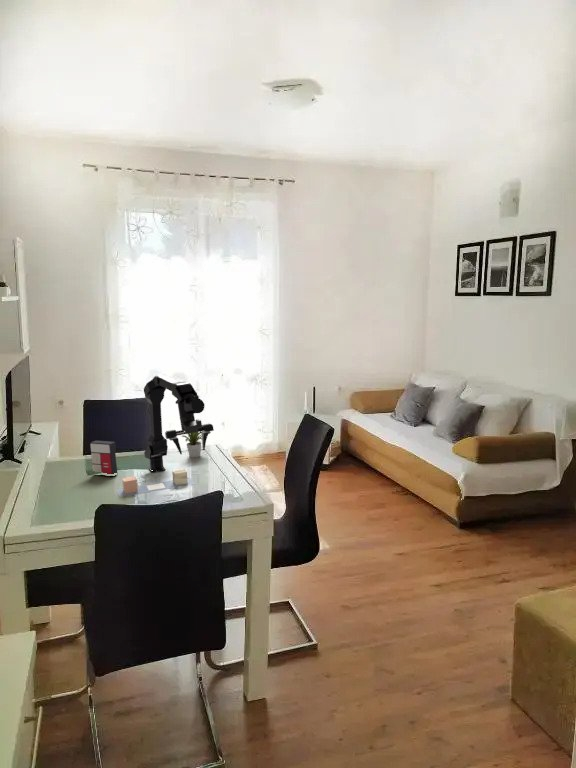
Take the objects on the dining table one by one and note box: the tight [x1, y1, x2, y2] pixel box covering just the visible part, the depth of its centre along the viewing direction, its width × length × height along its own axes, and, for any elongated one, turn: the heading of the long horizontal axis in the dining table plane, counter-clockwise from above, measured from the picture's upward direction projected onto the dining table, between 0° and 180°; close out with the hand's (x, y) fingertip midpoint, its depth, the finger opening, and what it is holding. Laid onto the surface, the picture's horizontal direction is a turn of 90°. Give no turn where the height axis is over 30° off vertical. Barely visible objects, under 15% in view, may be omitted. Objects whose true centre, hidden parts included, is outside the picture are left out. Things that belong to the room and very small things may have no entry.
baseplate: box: [116, 477, 196, 498], centre depth 236 cm, size 10×30×1 cm, turn 112°
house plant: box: [181, 431, 202, 458], centre depth 279 cm, size 14×14×16 cm
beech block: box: [171, 468, 188, 485], centre depth 240 cm, size 5×5×5 cm
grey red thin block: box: [89, 440, 118, 474], centre depth 256 cm, size 11×4×15 cm, turn 68°
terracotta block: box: [121, 476, 138, 494], centre depth 232 cm, size 5×5×5 cm
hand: (192, 452), depth 235 cm, fingers open, 9 cm apart
